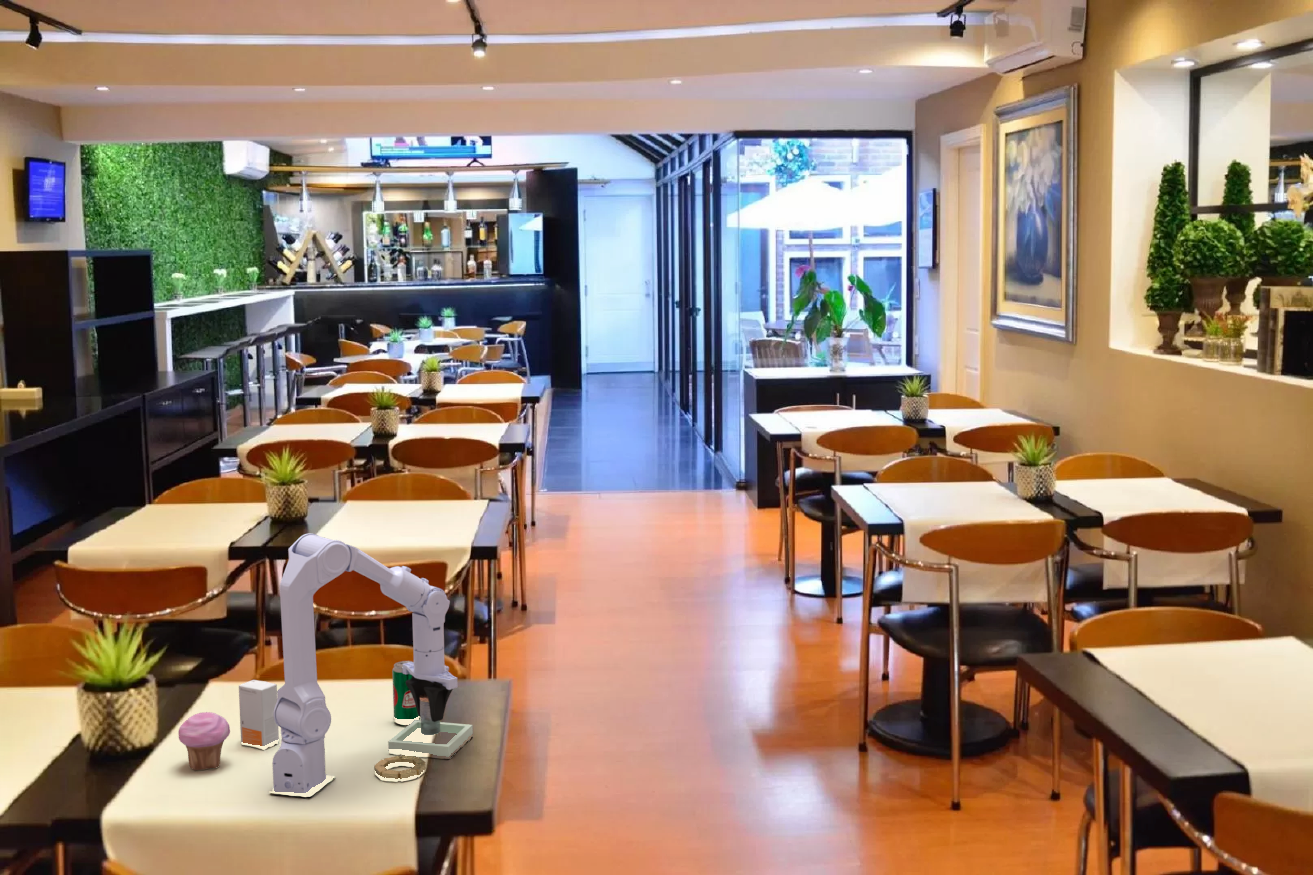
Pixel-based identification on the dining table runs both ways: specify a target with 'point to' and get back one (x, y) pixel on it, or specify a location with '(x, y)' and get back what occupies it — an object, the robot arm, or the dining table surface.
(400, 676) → the soda can
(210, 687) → the dining table surface
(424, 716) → the grey copper-topped cylinder
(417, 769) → the collar
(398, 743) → the mint green square frame
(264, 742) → the skincare box
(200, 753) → the cupcake
